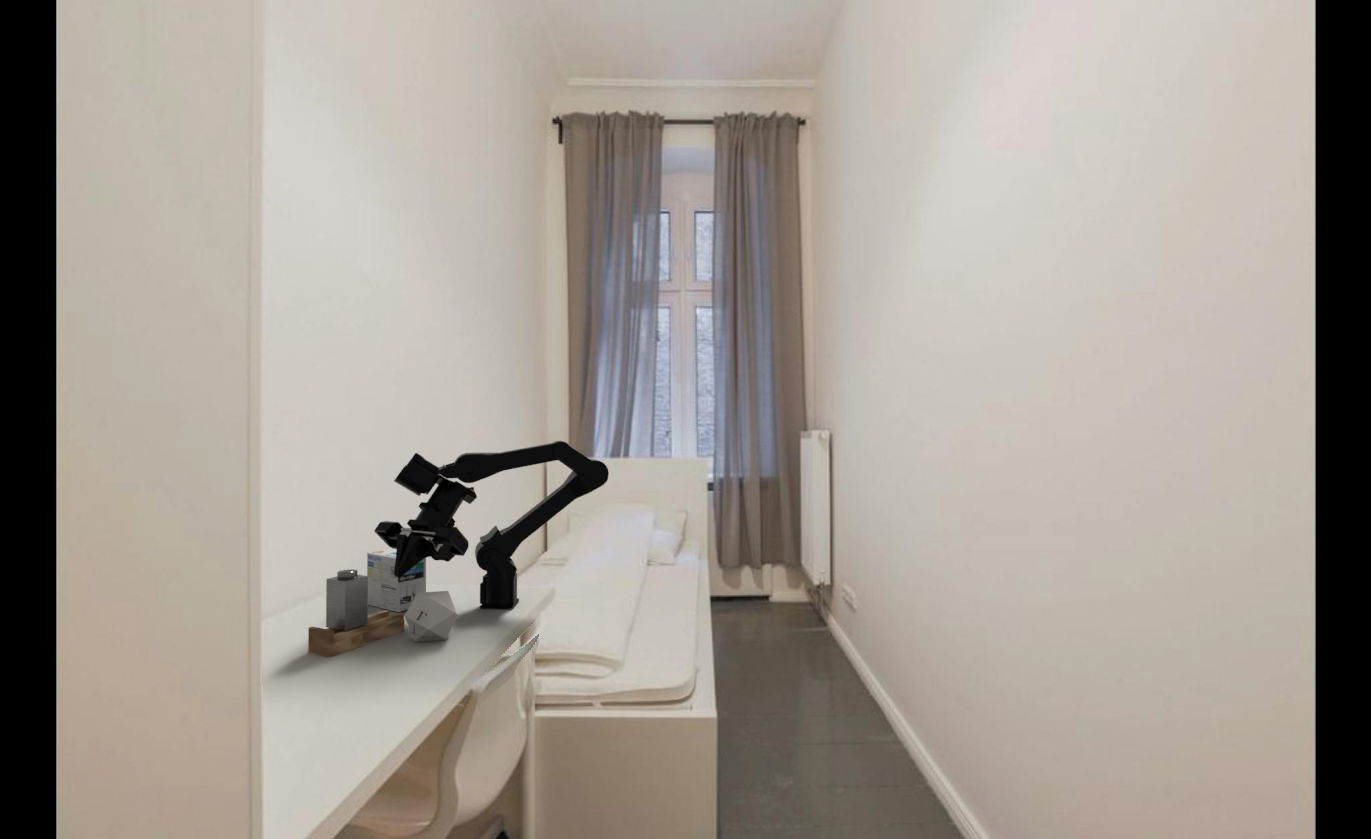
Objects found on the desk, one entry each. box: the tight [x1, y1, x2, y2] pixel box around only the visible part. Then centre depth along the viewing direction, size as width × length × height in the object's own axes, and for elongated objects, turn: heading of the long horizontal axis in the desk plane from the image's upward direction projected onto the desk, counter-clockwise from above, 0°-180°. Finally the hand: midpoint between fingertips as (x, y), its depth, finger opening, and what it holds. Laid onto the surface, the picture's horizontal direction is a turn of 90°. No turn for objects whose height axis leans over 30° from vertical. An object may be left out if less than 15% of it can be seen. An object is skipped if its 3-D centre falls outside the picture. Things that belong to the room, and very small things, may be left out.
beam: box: [307, 609, 406, 658], centre depth 115 cm, size 15×5×4 cm, turn 156°
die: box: [404, 590, 458, 643], centre depth 116 cm, size 8×9×10 cm
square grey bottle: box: [325, 569, 369, 633], centre depth 112 cm, size 4×4×10 cm
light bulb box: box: [366, 548, 427, 613], centre depth 137 cm, size 11×7×11 cm, turn 58°
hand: (396, 576), depth 122 cm, fingers closed
